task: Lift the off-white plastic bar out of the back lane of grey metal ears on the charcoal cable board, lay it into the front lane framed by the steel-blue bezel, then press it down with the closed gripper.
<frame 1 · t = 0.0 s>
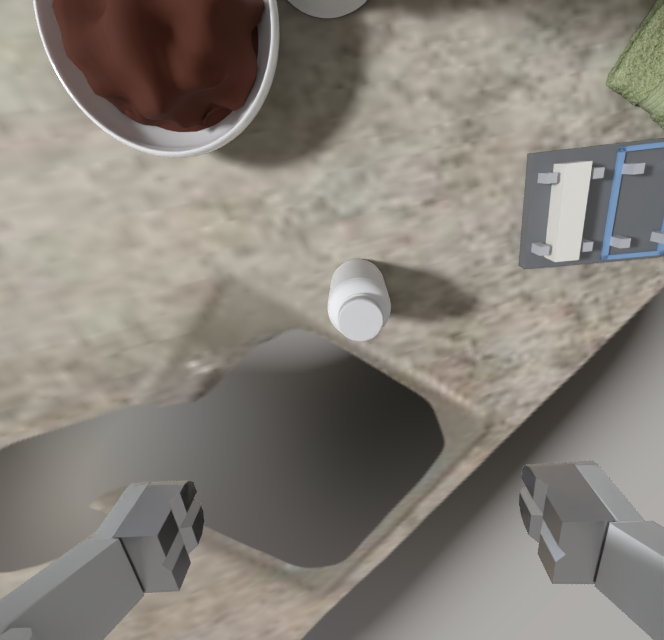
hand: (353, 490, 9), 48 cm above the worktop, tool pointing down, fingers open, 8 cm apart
chocolate pudding dish: (191, 49, 47), on the worktop
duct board: (591, 205, 51), on the worktop
pill bottle: (357, 282, 57), on the worktop
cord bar: (560, 211, 50), point 2 cm above the worktop, touching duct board
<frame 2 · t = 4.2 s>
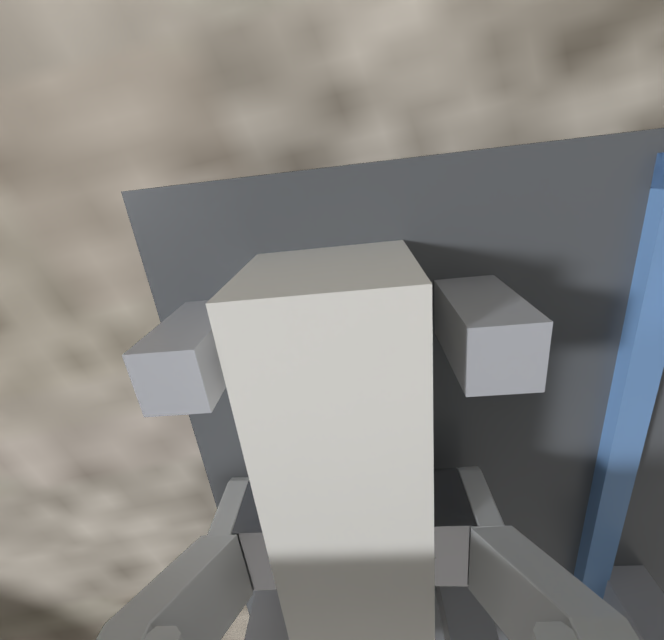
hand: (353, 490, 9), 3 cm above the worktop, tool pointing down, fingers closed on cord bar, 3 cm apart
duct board: (519, 414, 11), on the worktop
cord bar: (354, 472, 10), point 2 cm above the worktop, touching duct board, gripper
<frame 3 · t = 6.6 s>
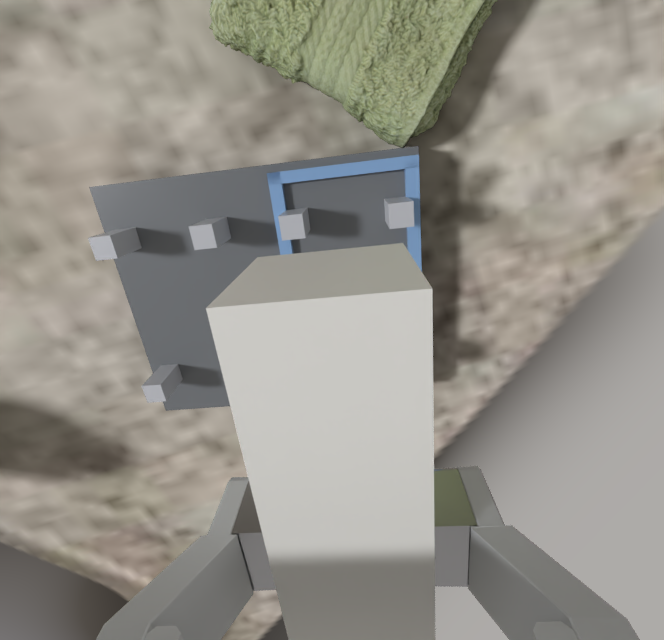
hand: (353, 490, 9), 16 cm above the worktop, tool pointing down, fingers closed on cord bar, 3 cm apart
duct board: (277, 288, 25), on the worktop
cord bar: (354, 475, 10), point 16 cm above the worktop, touching gripper
when the fingers open (4 cm above the worktop, at t = 9.1 s): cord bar drops 2 cm, resting on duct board.
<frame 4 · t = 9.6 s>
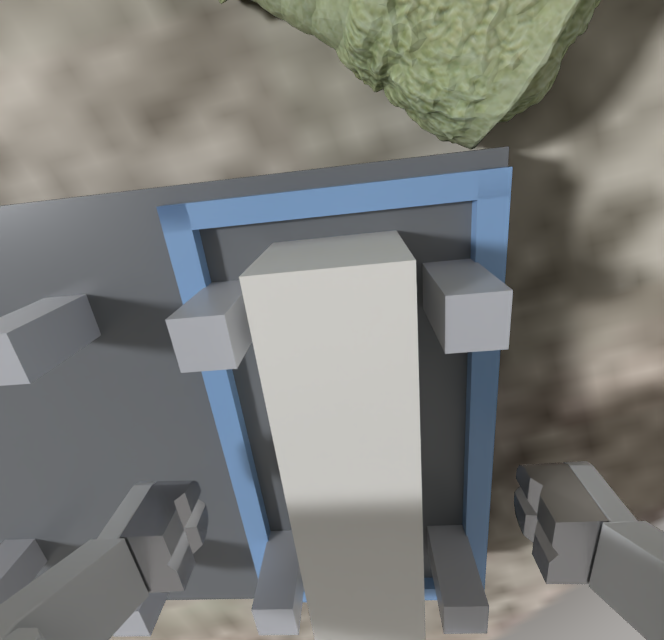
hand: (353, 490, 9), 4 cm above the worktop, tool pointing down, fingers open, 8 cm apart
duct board: (216, 406, 14), on the worktop
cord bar: (355, 436, 11), point 2 cm above the worktop, touching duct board
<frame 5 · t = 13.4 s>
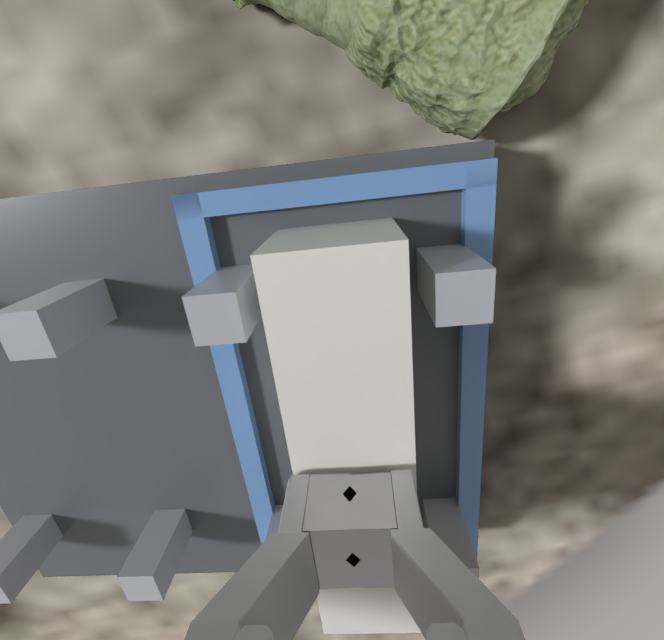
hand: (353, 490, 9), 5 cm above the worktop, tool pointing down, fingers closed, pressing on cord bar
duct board: (222, 388, 14), on the worktop
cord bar: (354, 413, 12), point 2 cm above the worktop, touching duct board, gripper
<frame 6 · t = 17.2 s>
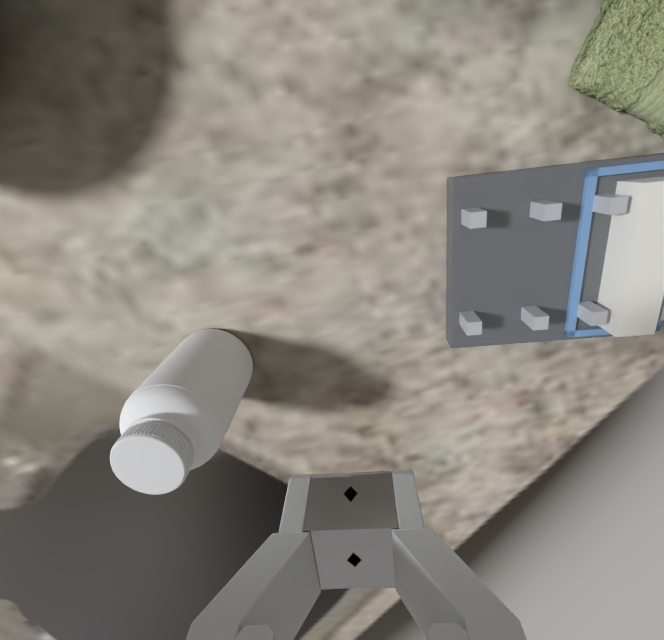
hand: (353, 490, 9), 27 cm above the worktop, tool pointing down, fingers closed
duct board: (549, 255, 34), on the worktop
pill bottle: (218, 359, 40), on the worktop
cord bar: (623, 255, 31), point 2 cm above the worktop, touching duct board
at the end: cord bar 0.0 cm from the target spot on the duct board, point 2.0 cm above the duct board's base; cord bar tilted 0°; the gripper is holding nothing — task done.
